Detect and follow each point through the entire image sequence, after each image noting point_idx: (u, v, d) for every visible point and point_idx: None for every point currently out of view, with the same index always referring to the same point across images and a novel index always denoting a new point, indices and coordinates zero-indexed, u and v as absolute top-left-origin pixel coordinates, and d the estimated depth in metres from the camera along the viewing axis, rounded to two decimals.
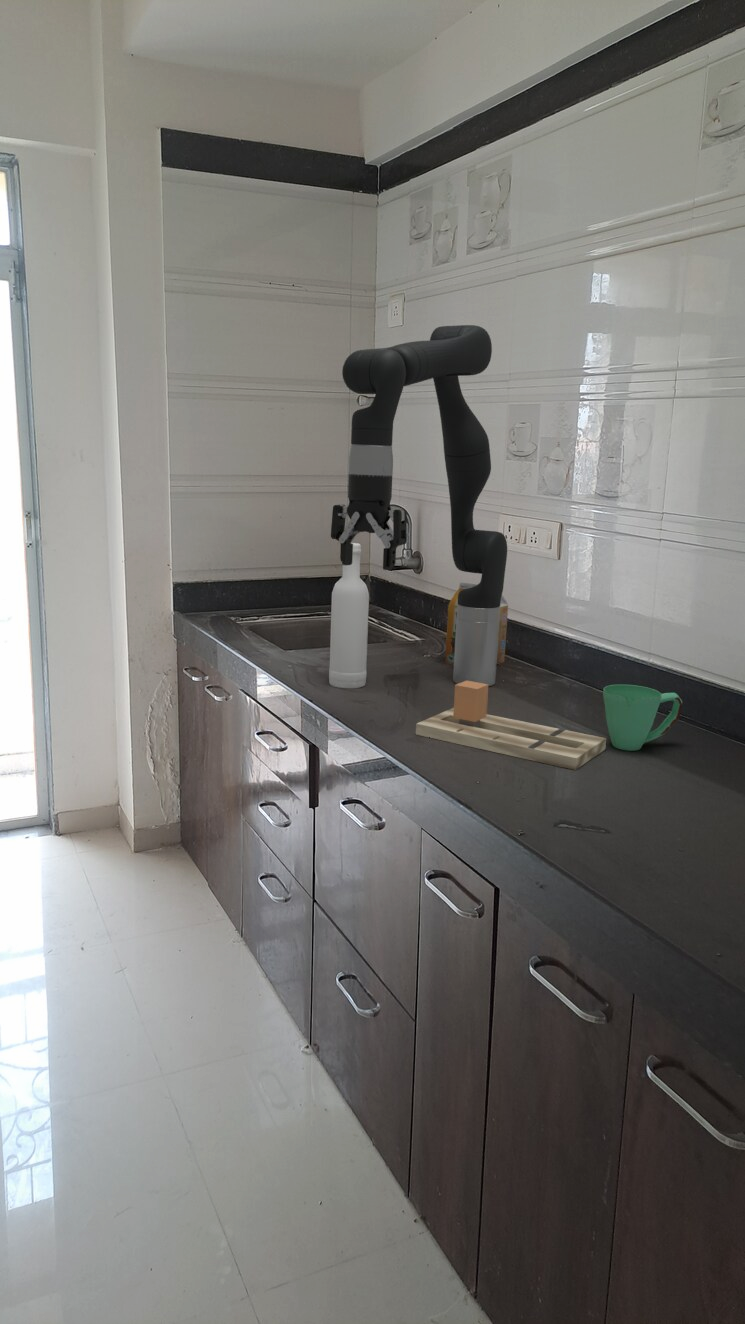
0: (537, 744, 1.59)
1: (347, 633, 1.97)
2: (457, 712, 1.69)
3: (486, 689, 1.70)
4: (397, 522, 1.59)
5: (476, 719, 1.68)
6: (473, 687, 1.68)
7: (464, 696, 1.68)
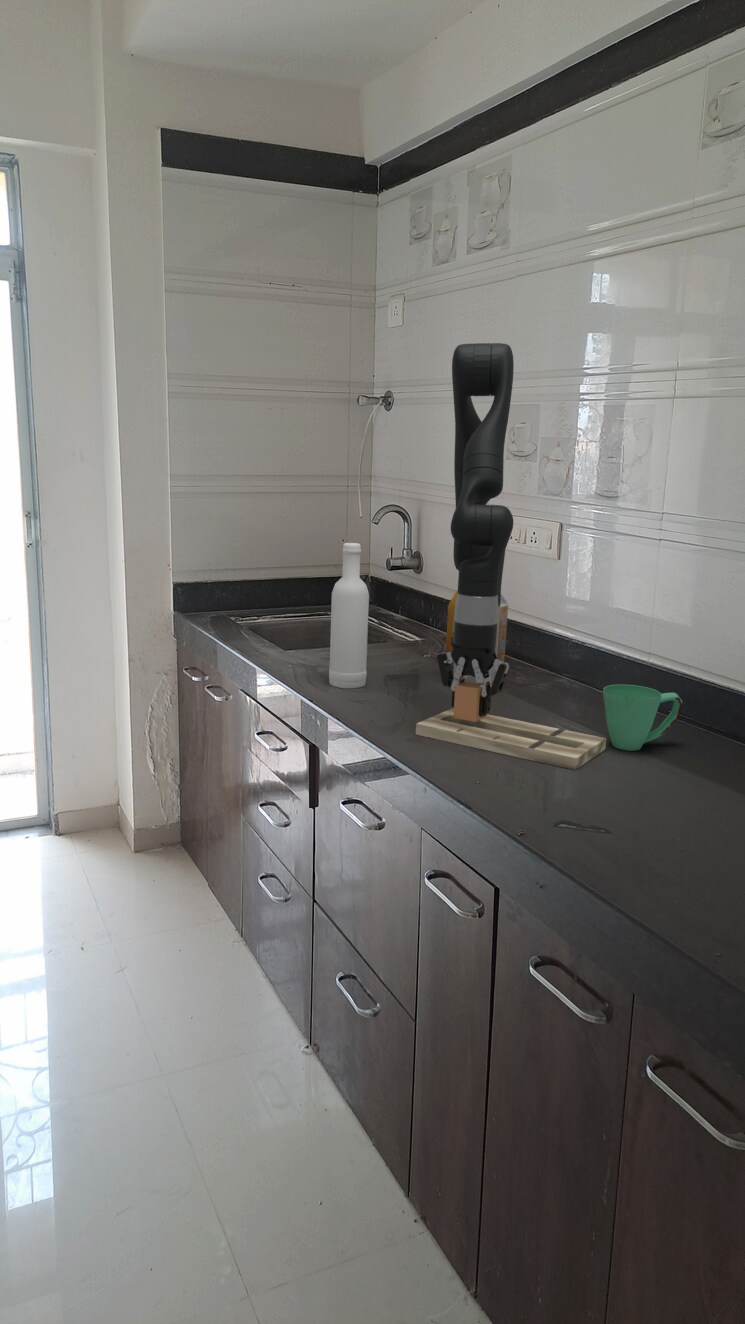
0: (537, 744, 1.59)
1: (347, 633, 1.97)
2: (457, 712, 1.69)
3: None
4: (500, 675, 1.65)
5: (476, 719, 1.68)
6: (473, 687, 1.68)
7: (465, 696, 1.68)
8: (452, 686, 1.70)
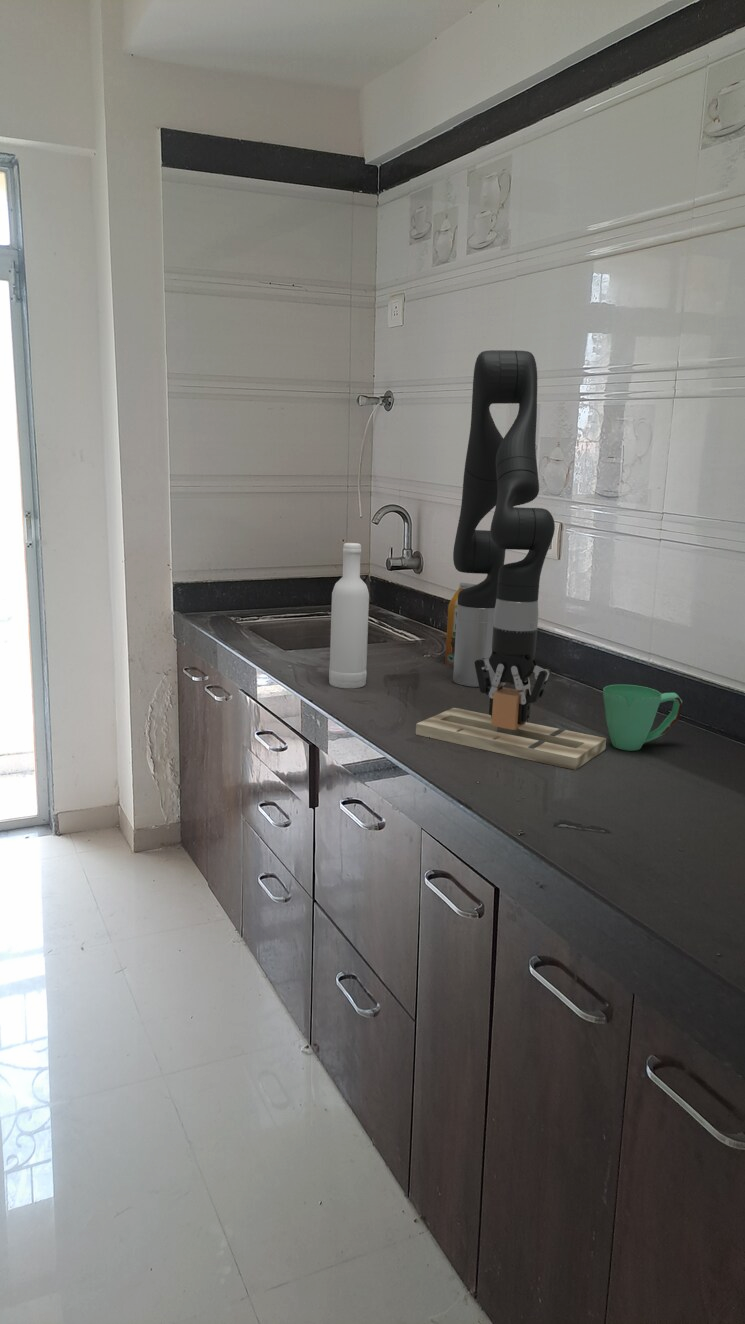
0: (537, 744, 1.59)
1: (347, 633, 1.97)
2: (495, 720, 1.65)
3: None
4: (540, 683, 1.61)
5: (515, 727, 1.64)
6: (512, 694, 1.64)
7: (503, 704, 1.64)
8: (490, 693, 1.66)
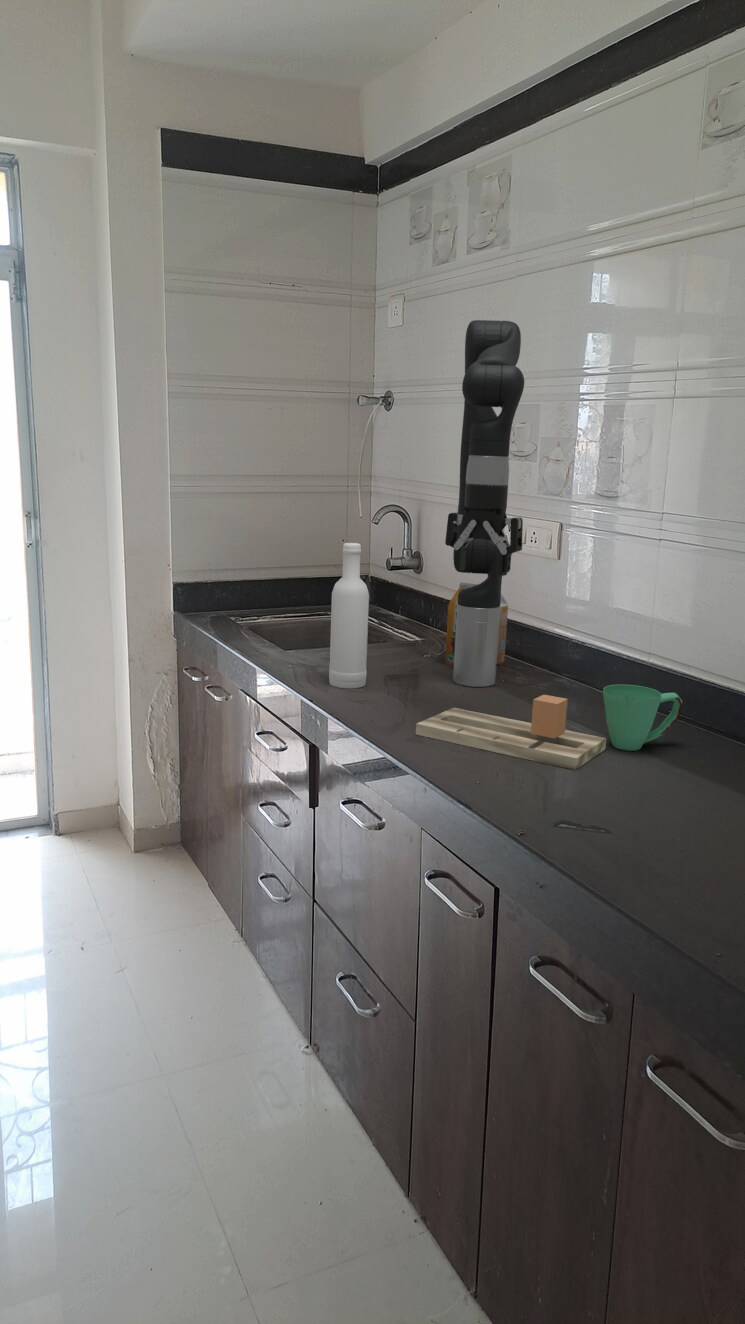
0: (537, 744, 1.59)
1: (347, 633, 1.97)
2: (535, 728, 1.62)
3: (565, 704, 1.62)
4: (514, 530, 1.66)
5: (556, 735, 1.60)
6: (553, 702, 1.60)
7: (544, 712, 1.60)
8: (455, 545, 1.73)
